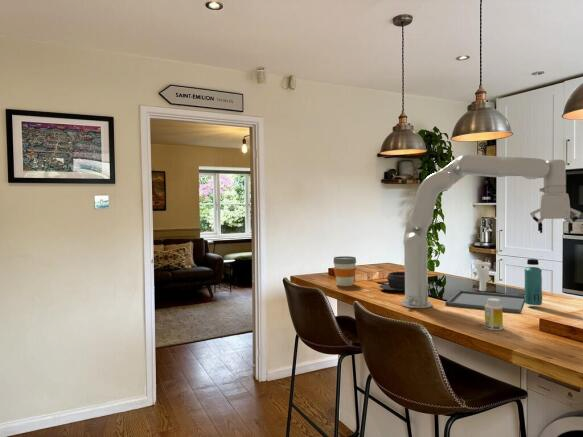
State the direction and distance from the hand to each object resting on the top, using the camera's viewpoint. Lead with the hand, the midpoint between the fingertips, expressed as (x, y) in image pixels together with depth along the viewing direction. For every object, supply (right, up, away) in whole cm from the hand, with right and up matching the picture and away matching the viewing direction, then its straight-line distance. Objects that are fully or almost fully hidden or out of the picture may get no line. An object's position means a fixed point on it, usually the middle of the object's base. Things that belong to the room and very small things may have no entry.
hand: (555, 233), depth 168 cm
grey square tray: (-21, -31, +15) cm, 40 cm away
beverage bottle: (-6, -31, +5) cm, 32 cm away
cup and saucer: (-49, -31, +45) cm, 74 cm away
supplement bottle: (-36, -33, -23) cm, 54 cm away
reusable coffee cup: (-77, -31, +63) cm, 104 cm away
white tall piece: (-11, -30, +39) cm, 51 cm away
